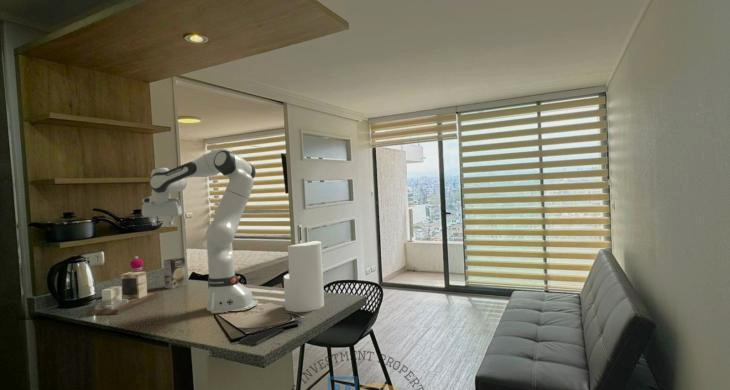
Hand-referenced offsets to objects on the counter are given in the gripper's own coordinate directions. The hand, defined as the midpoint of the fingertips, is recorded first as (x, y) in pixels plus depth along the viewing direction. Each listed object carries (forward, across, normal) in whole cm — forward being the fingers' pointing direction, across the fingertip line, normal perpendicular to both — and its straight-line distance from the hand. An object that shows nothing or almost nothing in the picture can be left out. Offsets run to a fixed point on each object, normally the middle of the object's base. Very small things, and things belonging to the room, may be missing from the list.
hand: (162, 225), depth 200 cm
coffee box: (+37, +7, -19) cm, 42 cm away
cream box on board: (+37, +11, +16) cm, 42 cm away
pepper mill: (+37, +22, -8) cm, 44 cm away
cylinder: (+37, -80, +22) cm, 91 cm away
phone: (+38, -74, +58) cm, 101 cm away
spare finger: (+35, +11, +24) cm, 44 cm away
